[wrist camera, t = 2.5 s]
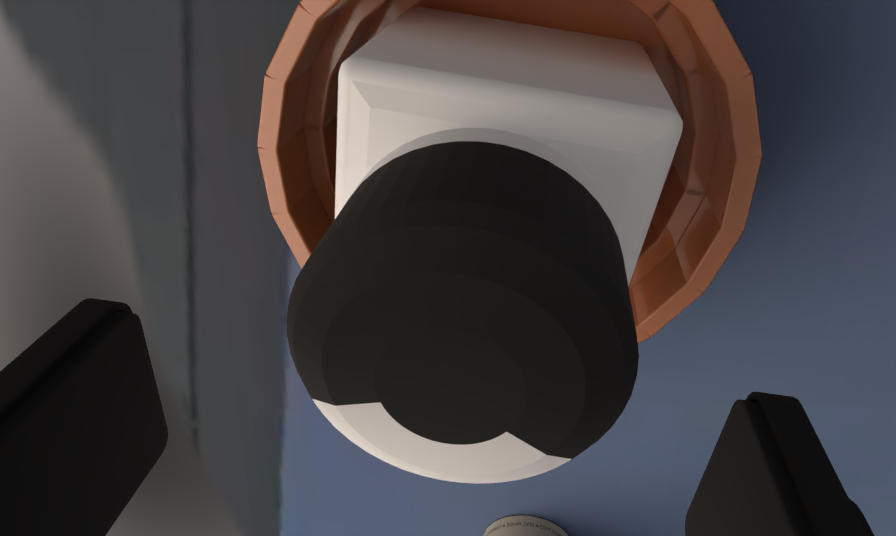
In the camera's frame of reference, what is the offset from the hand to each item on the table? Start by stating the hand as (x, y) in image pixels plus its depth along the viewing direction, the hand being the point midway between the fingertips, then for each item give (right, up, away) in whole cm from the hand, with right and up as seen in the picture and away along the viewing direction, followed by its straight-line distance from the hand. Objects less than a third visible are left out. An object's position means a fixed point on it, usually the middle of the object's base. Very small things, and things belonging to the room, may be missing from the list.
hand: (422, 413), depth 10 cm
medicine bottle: (+2, +7, +10) cm, 13 cm away
